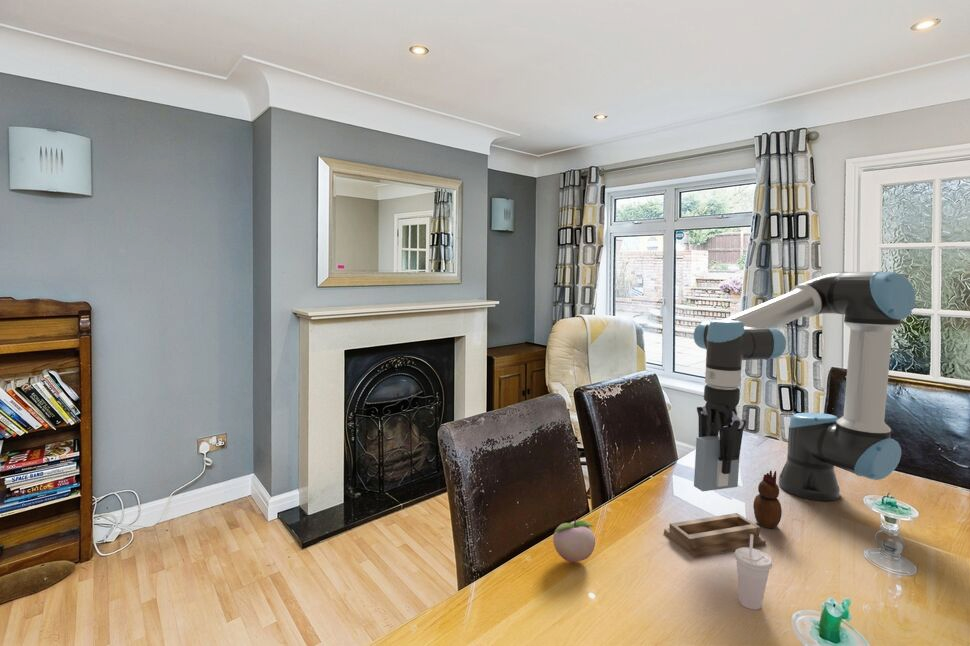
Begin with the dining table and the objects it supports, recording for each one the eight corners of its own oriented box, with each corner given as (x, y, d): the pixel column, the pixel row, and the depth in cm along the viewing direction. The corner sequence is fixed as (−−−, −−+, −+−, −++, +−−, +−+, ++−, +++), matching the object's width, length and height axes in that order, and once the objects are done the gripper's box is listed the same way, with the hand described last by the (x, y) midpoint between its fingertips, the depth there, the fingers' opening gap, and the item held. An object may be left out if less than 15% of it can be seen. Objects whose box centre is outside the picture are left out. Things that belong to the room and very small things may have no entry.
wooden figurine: (784, 532, 121) (788, 474, 119) (758, 530, 122) (762, 472, 120) (773, 519, 127) (777, 464, 126) (749, 517, 129) (753, 462, 127)
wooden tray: (730, 522, 126) (731, 509, 125) (765, 544, 115) (766, 531, 115) (664, 532, 120) (664, 519, 120) (694, 557, 110) (695, 543, 109)
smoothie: (725, 593, 98) (729, 526, 96) (755, 591, 98) (759, 525, 97) (744, 615, 91) (749, 544, 90) (777, 613, 92) (781, 543, 90)
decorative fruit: (569, 579, 102) (570, 533, 101) (546, 558, 109) (547, 516, 108) (603, 566, 106) (605, 523, 105) (580, 548, 113) (581, 507, 112)
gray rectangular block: (728, 481, 119) (731, 434, 118) (737, 486, 116) (740, 438, 115) (693, 486, 116) (696, 437, 115) (702, 491, 114) (705, 441, 112)
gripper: (685, 379, 121) (680, 470, 123) (735, 394, 105) (728, 498, 108) (710, 378, 123) (705, 467, 125) (763, 393, 107) (756, 495, 110)
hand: (716, 482), depth 116 cm, fingers closed on gray rectangular block, 3 cm apart
